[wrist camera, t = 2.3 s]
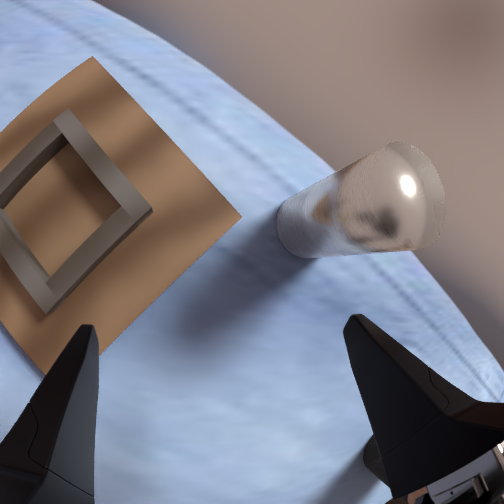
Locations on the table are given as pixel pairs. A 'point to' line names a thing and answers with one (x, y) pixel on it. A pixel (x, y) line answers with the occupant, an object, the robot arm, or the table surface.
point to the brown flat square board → (94, 214)
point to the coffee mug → (397, 501)
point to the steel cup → (367, 207)
